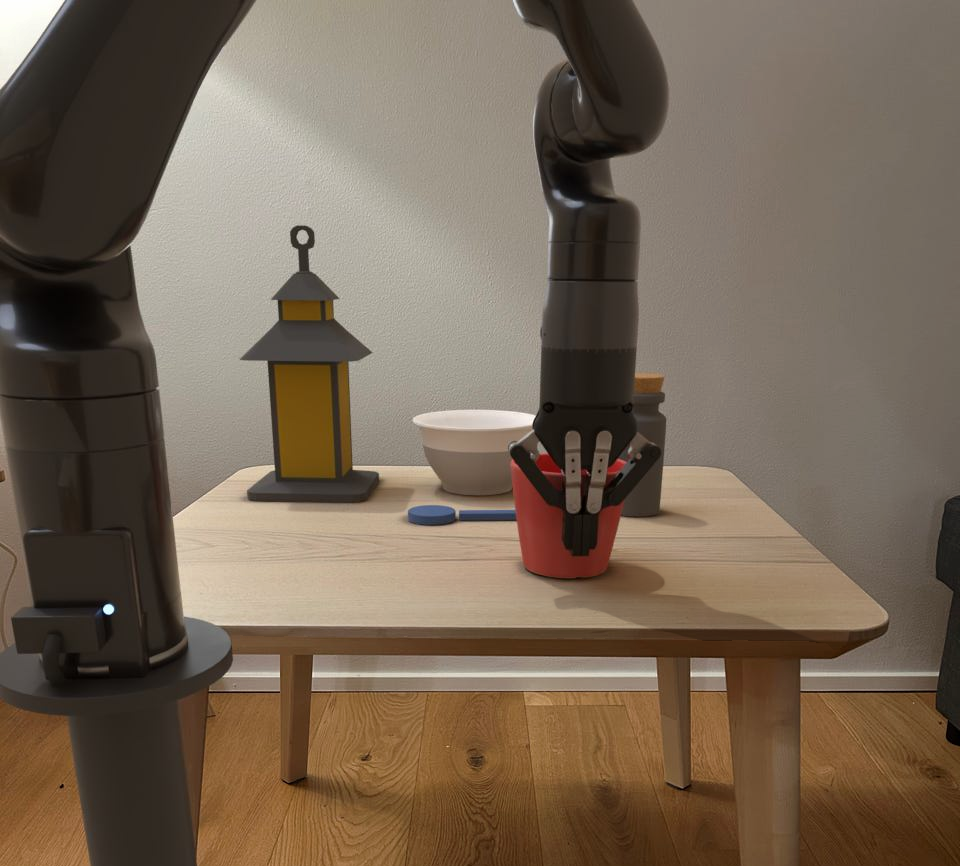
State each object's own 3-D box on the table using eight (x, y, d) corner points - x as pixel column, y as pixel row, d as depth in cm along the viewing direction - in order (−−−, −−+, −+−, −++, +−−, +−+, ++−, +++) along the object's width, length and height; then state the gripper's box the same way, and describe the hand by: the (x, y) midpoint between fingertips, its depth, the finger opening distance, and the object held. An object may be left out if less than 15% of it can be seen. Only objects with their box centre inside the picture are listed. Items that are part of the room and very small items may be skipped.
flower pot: (612, 550, 95) (617, 450, 92) (635, 584, 85) (642, 473, 81) (503, 551, 94) (505, 451, 91) (514, 585, 84) (516, 474, 81)
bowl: (467, 508, 111) (467, 432, 108) (388, 485, 123) (386, 416, 119) (567, 490, 120) (570, 420, 117) (485, 470, 132) (486, 406, 129)
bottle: (651, 519, 107) (662, 379, 101) (600, 513, 109) (608, 376, 104) (665, 508, 112) (675, 374, 106) (616, 503, 114) (624, 371, 109)
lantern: (273, 476, 127) (256, 227, 116) (380, 478, 126) (372, 228, 116) (244, 500, 114) (222, 222, 103) (363, 502, 113) (353, 223, 103)
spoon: (564, 512, 110) (564, 503, 109) (571, 523, 105) (571, 514, 104) (408, 513, 108) (407, 505, 108) (407, 525, 104) (407, 516, 103)
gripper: (509, 344, 73) (505, 567, 79) (683, 345, 73) (666, 566, 80) (501, 338, 80) (498, 543, 86) (660, 339, 80) (646, 542, 87)
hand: (579, 553), depth 83 cm, fingers closed
